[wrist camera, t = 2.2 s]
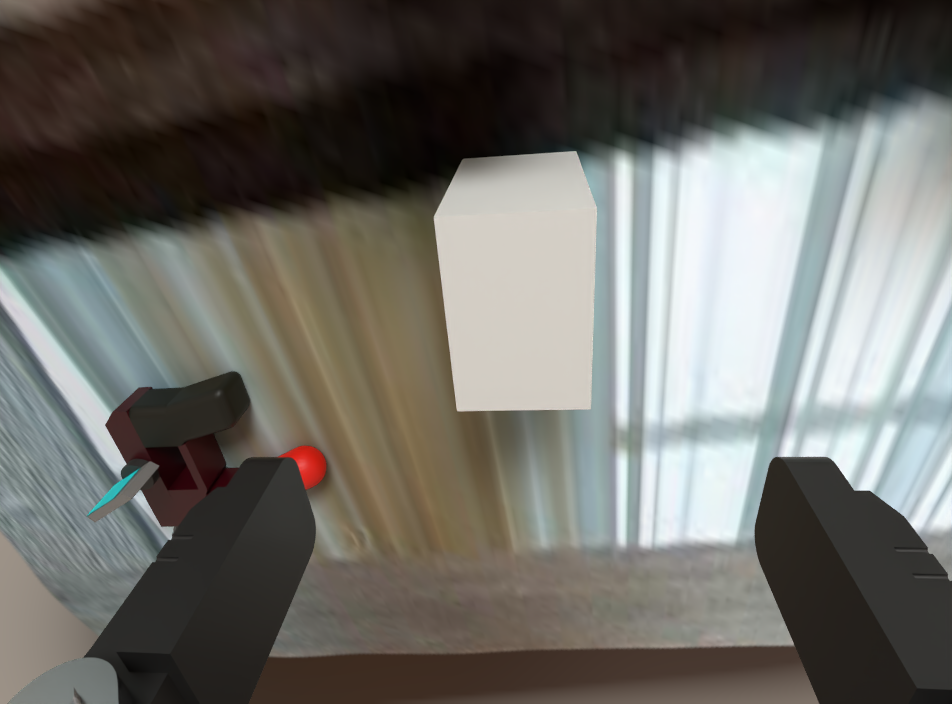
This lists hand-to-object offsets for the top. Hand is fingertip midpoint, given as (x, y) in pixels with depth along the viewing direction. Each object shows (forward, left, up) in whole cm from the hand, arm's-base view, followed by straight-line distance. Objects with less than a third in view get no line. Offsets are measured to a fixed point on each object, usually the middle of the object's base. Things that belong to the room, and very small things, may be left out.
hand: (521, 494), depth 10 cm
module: (0, 0, -13) cm, 13 cm away
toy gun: (-15, -12, -14) cm, 23 cm away
